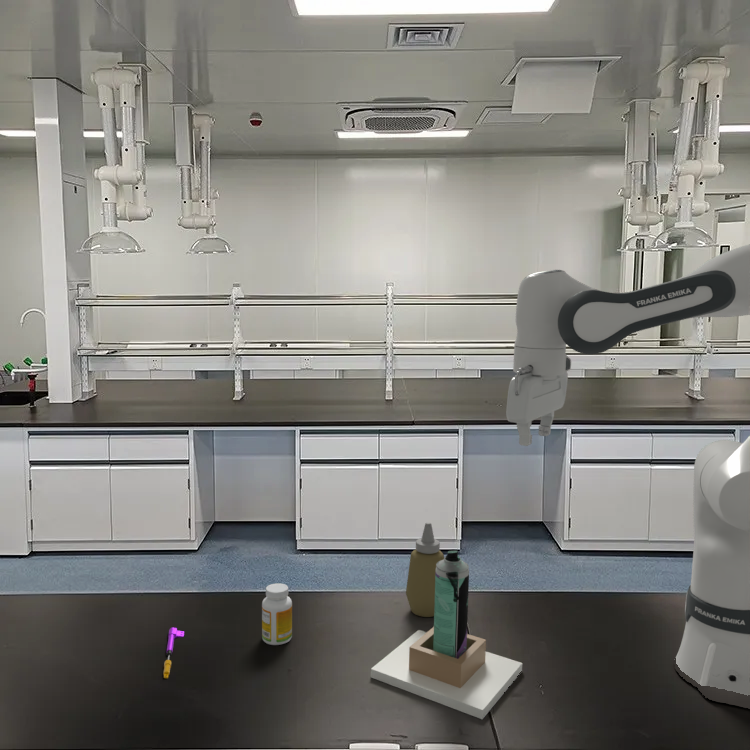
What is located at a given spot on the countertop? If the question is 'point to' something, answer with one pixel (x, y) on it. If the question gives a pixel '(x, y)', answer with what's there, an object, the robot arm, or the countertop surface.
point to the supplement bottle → (277, 615)
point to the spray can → (451, 605)
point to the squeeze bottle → (423, 574)
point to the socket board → (449, 673)
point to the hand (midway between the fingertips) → (535, 440)
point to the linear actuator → (171, 648)
